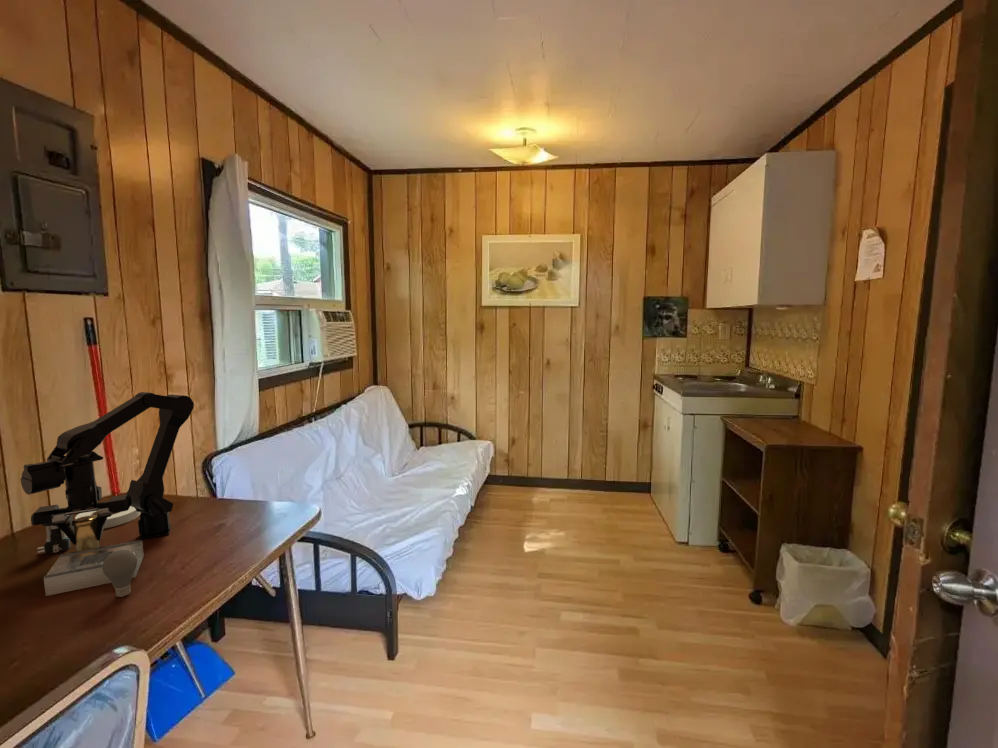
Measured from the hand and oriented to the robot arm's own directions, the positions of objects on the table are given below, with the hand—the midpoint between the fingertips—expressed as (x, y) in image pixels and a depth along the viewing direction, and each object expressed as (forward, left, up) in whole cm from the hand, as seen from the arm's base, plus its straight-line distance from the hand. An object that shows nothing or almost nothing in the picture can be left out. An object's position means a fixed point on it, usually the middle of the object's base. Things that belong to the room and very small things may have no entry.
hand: (87, 542), depth 128 cm
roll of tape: (+1, -28, -5) cm, 28 cm away
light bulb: (-11, +26, -4) cm, 29 cm away
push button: (+9, -9, -4) cm, 13 cm away
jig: (-4, +12, -4) cm, 13 cm away
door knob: (0, 0, -2) cm, 2 cm away
